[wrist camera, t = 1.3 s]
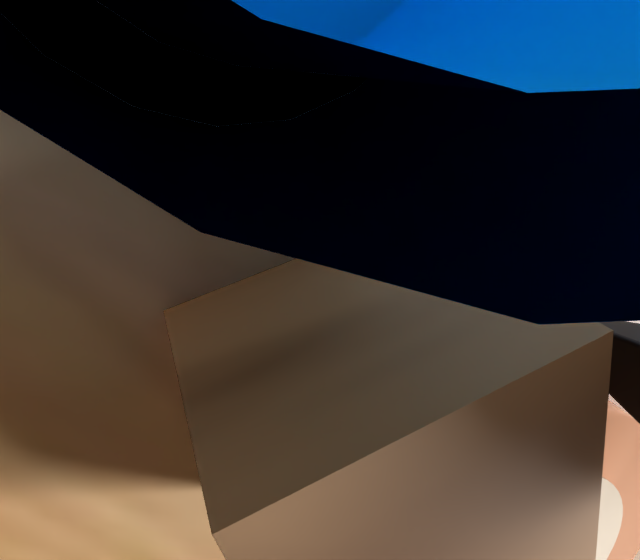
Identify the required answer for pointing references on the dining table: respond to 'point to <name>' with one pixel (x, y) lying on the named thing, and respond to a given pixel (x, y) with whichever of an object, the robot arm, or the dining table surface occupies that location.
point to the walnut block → (389, 422)
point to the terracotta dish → (620, 488)
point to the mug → (393, 143)
